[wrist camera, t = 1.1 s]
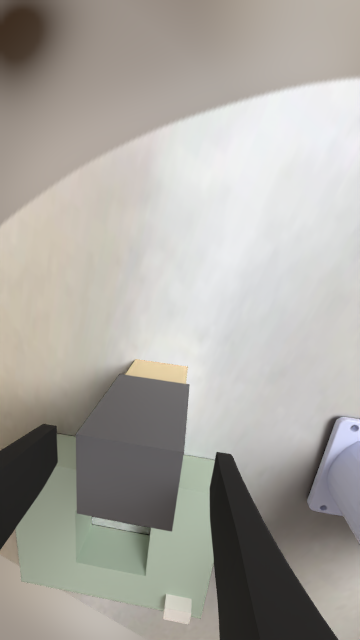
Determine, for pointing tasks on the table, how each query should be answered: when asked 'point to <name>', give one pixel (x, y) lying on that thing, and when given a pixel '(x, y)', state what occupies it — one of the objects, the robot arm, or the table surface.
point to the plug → (135, 447)
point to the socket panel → (120, 545)
